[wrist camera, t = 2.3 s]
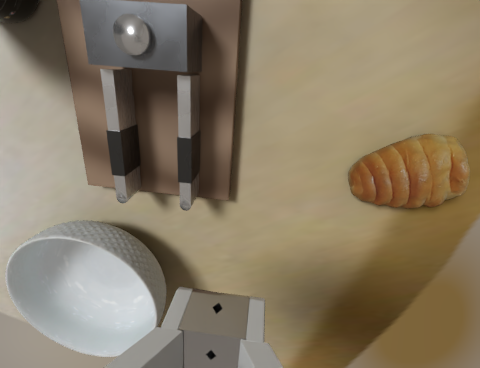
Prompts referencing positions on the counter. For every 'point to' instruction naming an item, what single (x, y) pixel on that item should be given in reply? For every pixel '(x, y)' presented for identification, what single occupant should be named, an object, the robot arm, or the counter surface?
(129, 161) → the fixed tong arm
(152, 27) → the tong hinge
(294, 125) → the counter surface
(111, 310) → the cereal bowl
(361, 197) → the pastry
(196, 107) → the loose tong arm
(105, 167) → the walnut board
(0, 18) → the supplement bottle
